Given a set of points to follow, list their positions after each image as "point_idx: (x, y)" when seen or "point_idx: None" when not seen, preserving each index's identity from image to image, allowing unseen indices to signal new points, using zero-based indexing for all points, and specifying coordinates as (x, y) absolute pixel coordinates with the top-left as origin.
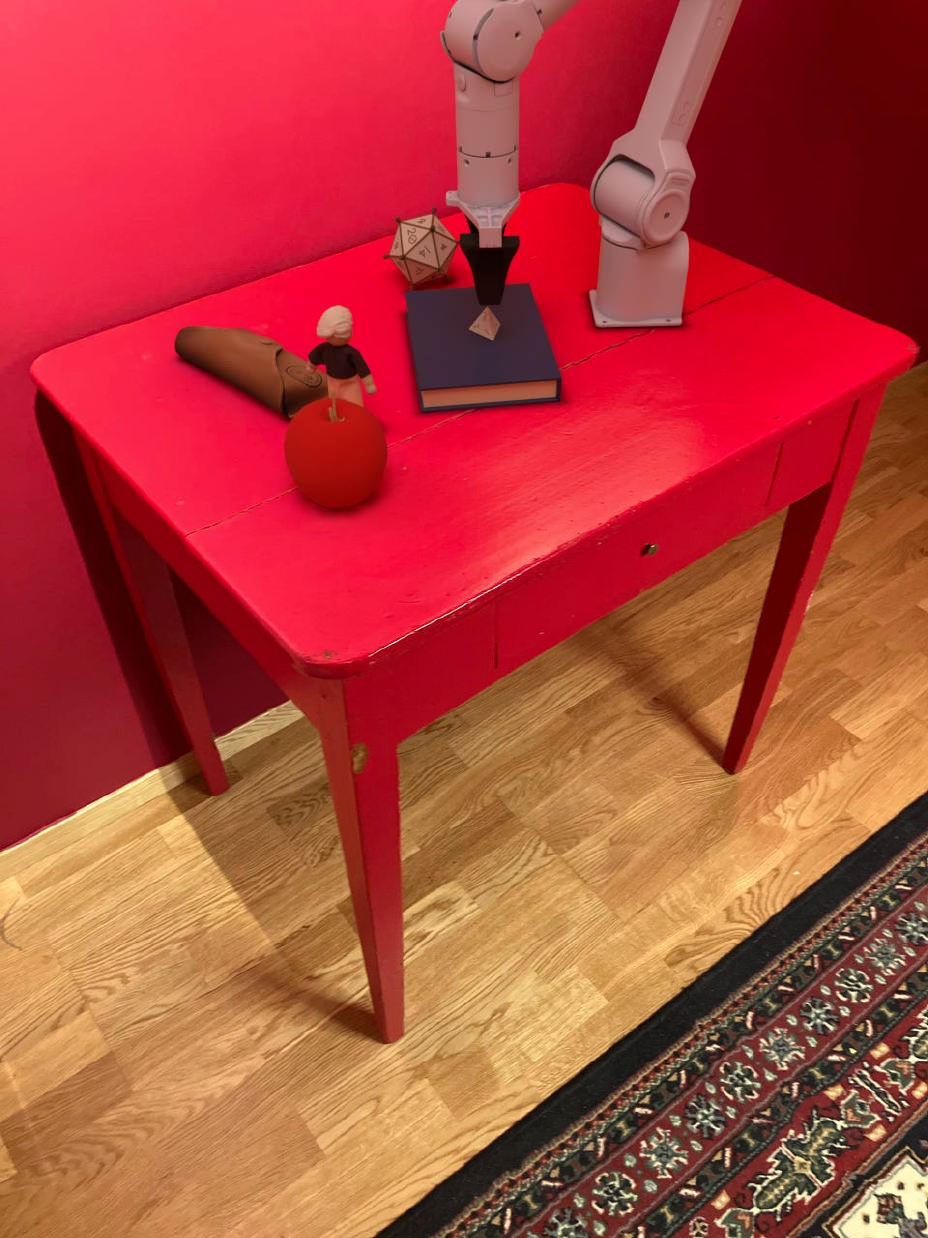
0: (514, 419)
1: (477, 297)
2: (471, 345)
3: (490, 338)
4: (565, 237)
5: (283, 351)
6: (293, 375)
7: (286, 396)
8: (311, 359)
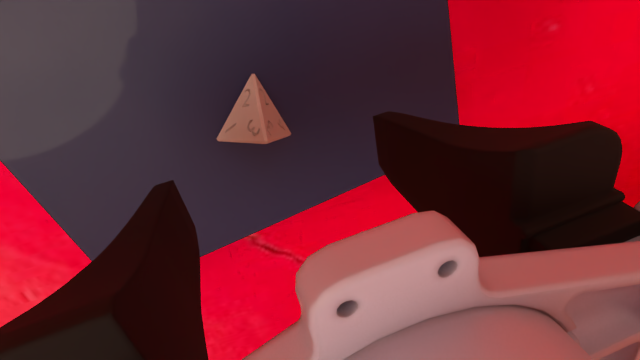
0: (23, 209)
1: (148, 194)
2: (181, 97)
3: (219, 134)
4: (636, 121)
5: None
6: None
7: None
8: None
